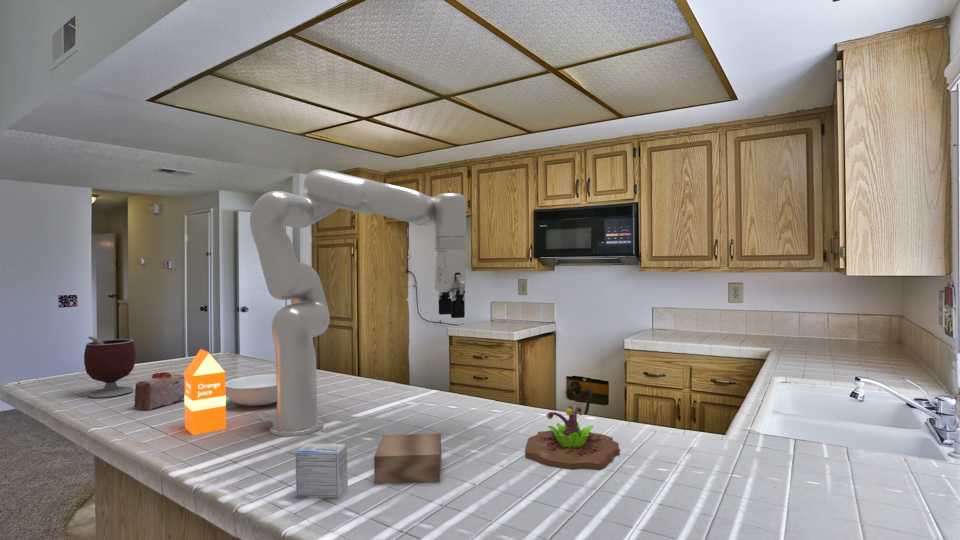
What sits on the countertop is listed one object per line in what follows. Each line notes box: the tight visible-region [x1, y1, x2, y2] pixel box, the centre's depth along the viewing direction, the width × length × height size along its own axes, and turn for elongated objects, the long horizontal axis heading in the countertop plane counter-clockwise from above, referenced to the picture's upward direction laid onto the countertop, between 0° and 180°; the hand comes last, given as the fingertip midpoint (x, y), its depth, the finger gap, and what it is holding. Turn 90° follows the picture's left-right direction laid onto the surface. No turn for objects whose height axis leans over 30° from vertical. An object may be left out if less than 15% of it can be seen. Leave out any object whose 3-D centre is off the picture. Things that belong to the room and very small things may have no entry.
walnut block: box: [373, 432, 442, 485], centre depth 100 cm, size 12×12×6 cm
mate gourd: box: [83, 336, 136, 398], centre depth 169 cm, size 16×14×20 cm
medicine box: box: [294, 443, 349, 499], centre depth 90 cm, size 8×4×9 cm, turn 84°
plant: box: [524, 405, 621, 471], centre depth 109 cm, size 20×20×11 cm
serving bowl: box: [225, 373, 277, 407], centre depth 155 cm, size 21×21×7 cm
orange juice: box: [183, 348, 227, 436], centre depth 130 cm, size 8×9×20 cm
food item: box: [133, 371, 185, 411], centre depth 154 cm, size 14×8×10 cm, turn 166°
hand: (451, 315), depth 122 cm, fingers open, 9 cm apart
